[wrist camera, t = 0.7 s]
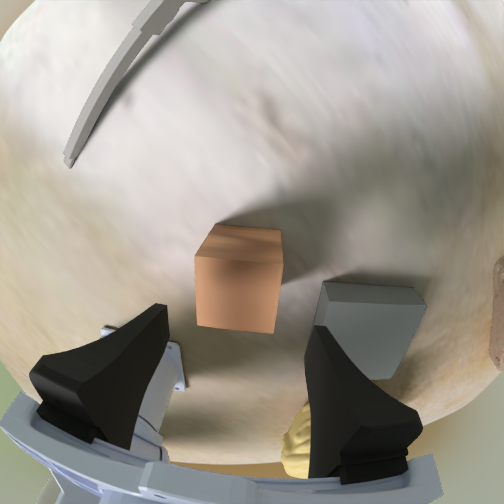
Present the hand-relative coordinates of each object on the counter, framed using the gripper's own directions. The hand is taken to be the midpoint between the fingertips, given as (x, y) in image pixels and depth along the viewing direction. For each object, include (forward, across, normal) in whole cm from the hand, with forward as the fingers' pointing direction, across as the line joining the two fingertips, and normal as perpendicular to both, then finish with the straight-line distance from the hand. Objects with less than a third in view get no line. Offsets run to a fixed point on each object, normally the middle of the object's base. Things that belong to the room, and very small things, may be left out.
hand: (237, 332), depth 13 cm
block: (+10, 0, 0) cm, 10 cm away
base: (+9, -11, +6) cm, 15 cm away
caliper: (+10, +11, -14) cm, 21 cm away
